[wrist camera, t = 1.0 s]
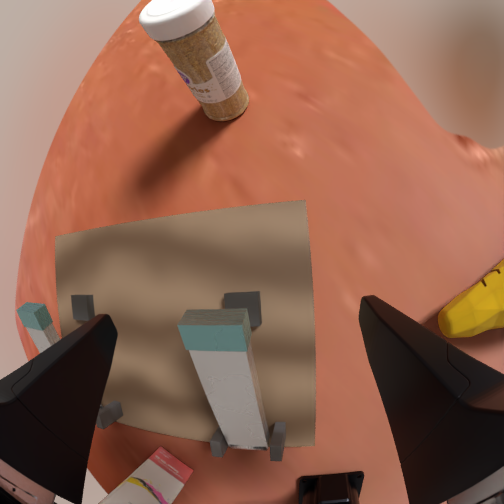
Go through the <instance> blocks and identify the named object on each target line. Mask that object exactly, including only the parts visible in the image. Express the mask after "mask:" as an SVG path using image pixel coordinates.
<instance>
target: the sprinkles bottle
mask: <svg viewBox="0 0 504 504" xmlns="http://www.w3.org/2000/svg"><path fill="white" fill-rule="evenodd" d="M139 22H140V24H141V26H142V27H143V28H144V30H145V31H146V33H147V34H148V35H149V36H150V38H152V39H154V40H155V41H157V42H158V43H159V44H160V46H161V47H162V49H163V50H164V52H165V53H166V54H167V56H168V57H169V58H170V60H171V61H172V63H173V64H174V67H175V68H176V70H177V71H178V73H179V74H180V76H181V77H182V78H183V80H184V81H185V83H186V84H187V86H188V87H189V89H190V90H191V92H192V93H193V95H194V96H195V98H196V99H197V100H198V101H199V103H200V104H201V106H202V107H203V110H204V112H205V114H206V115H207V116H208V117H209V118H210V119H213V120H215V121H227V120H232V119H234V118H236V117H238V116H239V115H240V114H242V113H243V112H244V110H245V109H246V108H247V106H248V103H249V97H248V93H247V91H246V90H245V89H244V86H243V83H242V81H241V76H240V73H239V70H238V68H237V65H236V62H235V60H234V57H233V55H232V52H231V50H230V47H229V45H228V42H227V40H226V38H225V36H224V34H223V33H222V30H221V28H220V26H219V23H218V21H217V19H216V17H215V12H214V5H213V3H212V0H152V1H151V2H150V3H149V4H148V5H146V7H145V8H144V9H143V10H142V12H141V13H140V16H139Z"/></svg>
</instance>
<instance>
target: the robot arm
mask: <svg viewBox="0 0 504 504" xmlns="http://www.w3.org/2000/svg"><path fill="white" fill-rule="evenodd" d="M359 323H360V327H361V331H362V335H363V340H364V344H365V348H366V352H367V356H368V360H369V363H370V366H371V369H372V372H373V375H374V378H375V380H376V383H377V386H378V389H379V392H380V395H381V398H382V401H383V405H384V408H385V411H386V414H387V417H388V421H389V424H390V427H391V431H392V434H393V438H394V441H395V445H396V449H397V452H398V456H399V460H400V463H401V468H402V472H403V477H404V481H405V485H406V490H407V494H408V499H409V504H440V503H442V502H444V501H446V500H447V504H504V374H502V373H501V372H499V371H497V370H495V369H493V368H491V367H489V366H488V365H486V364H484V363H482V362H480V361H478V360H477V359H475V358H473V357H471V356H469V355H468V354H466V353H464V352H463V351H461V350H460V349H458V348H456V347H455V346H453V345H452V344H450V343H449V342H448V343H447V341H446V340H444V339H443V338H441V337H439V336H438V335H436V334H435V333H433V332H432V331H430V330H429V329H427V328H426V327H424V326H422V325H421V324H419V323H418V322H416V321H415V320H413V319H411V318H410V317H408V316H407V315H405V314H403V313H402V312H400V311H399V310H397V309H395V308H394V307H392V306H391V305H389V304H387V303H386V302H384V301H383V300H381V299H379V298H378V297H376V296H374V295H369V296H363V297H362V299H361V304H360V311H359ZM117 338H118V332H117V329H116V327H115V325H114V323H113V321H112V318H111V317H110V315H109V314H98V315H97V316H95V317H94V318H92V319H90V320H89V321H87V322H86V323H84V324H83V325H81V326H80V327H78V328H77V329H75V330H74V331H72V332H71V333H69V334H68V335H66V336H65V337H64V338H62V339H61V340H59V341H58V342H56V343H55V344H53V345H52V346H50V347H49V348H47V349H46V350H44V351H43V352H42V353H40V354H39V355H37V356H36V357H35V358H33V359H31V360H30V361H29V362H27V363H26V364H24V365H23V366H21V367H20V368H18V369H17V370H15V371H14V372H12V373H11V374H9V375H7V376H6V377H4V378H3V379H1V380H0V504H57V503H55V502H54V500H55V497H56V495H58V496H60V497H62V498H64V499H66V500H68V501H70V502H72V503H74V504H82V497H83V489H84V482H85V476H86V470H87V464H88V458H89V453H90V448H91V443H92V438H93V434H94V430H95V425H96V421H97V417H98V413H99V409H100V405H101V402H102V398H103V394H104V391H105V387H106V384H107V380H108V377H109V373H110V370H111V365H112V361H113V356H114V351H115V346H116V342H117ZM358 475H360V476H358ZM363 479H364V472H362V471H358V472H350V473H342V474H332V475H318V476H303V477H301V478H300V483H299V504H359V496H360V492H361V488H362V483H363ZM303 480H306V481H303Z"/></svg>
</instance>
